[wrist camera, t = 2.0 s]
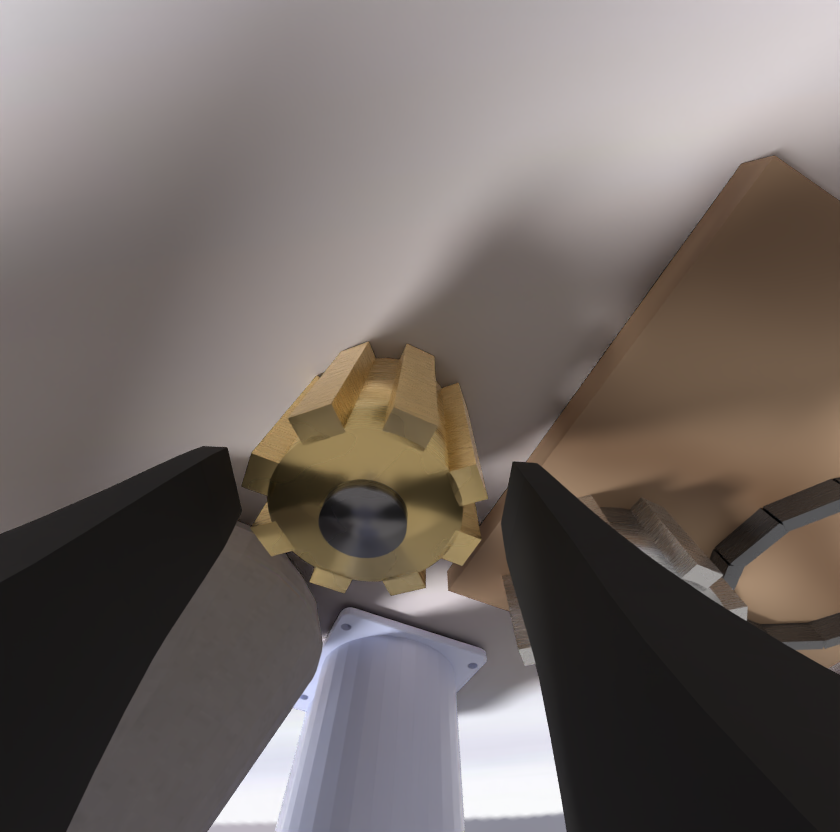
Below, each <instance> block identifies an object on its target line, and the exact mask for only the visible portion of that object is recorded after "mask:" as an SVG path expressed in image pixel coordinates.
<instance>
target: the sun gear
mask: <svg viewBox="0 0 840 832" xmlns="http://www.w3.org/2000/svg"><path fill="white" fill-rule="evenodd" d="M578 499H579V500H580V501H581V502H582V503H584V504H585V505H586V506H587V507H588V508H589V509H591V510H592V511H593V512H594V513H595V514H596V515H598V516H599V517H600V518H601V519H602V520H604V521H605V522H606V523H607V524H609V525H610V526H611V527H612V528H613V529H615V530H616V531H617V532H618V533H620V534H621V535H622V536H623V537H625V538H626V539H627V540H629V541H630V542H631V543H633V544H634V545H635V546H636V547H638V548H639V549H640V550H642V551H643V552H644V553H645V554H647V555H648V556H650V557H651V558H652V559H654V560H655V561H656V562H658V563H659V564H661V565H662V566H663V567H665V568H666V569H668V570H669V571H671V572H672V573H673V574H675V575H676V576H678V577H679V578H681V579H682V580H684V581H685V582H687V583H688V584H690V585H691V586H692V587H694V588H695V589H697V590H698V591H700V592H701V593H703V594H704V595H706V596H707V597H709V598H710V599H712V600H714V601H715V602H717V603H718V604H720V605H721V606H723V607H725V608H726V609H728V610H729V611H731V612H733V613H734V614H736V615H738V616H739V617H741V618H742V619H744V620H746V621H747V610H748V606H747V605H746V604H745V603H744V602H743V600H742V599H741V598H740V597H739V596H738V595H737V594H736V593H735V591H734V590H733V589H732V588H731V587H730V586H729V585H728V583H727V582H726V581H725V580H724V579H723V578H722V576H723V574H722V573H721V572H720V570H719V569H718V568H717V567H716V566H715V565H714V564H713V563H712V561H711V560H710V559H709V558H708V557H707V556H706V555H705V554H704V552H703V551H702V550H701V549H700V548H699V547H698V546H697V545H696V543H695V542H694V541H693V540H692V539H691V538H690V537H689V536H688V534H687V533H686V532H685V531H684V530H683V529H682V528H681V527H680V525H679V524H678V523H677V522H676V521H675V520H674V519H673V518H672V516H671V515H670V514H669V513H668V512H667V511H666V510H665V509H664V508H663V507H662V506H660V505H658V504H655V503H653V502H651V501H649V500H646V499H644V498H642V497H641V498H640V499H639V500H638V501H637V502H636V503H635V504H634V505H633V506H632V507H631V509H630V510H629V509H624V508H616V507H599V506H598V505H597V503H596V502H595V500H594V498H593V497H592V495H588V496H584V497H580V498H578ZM502 578H503V583H504V587H505V592H506V596H507V601H508V605H509V610H510V614H511V619H512V623H513V628H514V632H515V637H516V641H517V646H518V650H519V653H520V655H521V658H522V660H523V663H524V665H525V666H528V665H534V664H535V660H534V656H533V652H532V649H531V645H530V642H529V638H528V635H527V631H526V628H525V624H524V621H523V617H522V614H521V610H520V607H519V603H518V600H517V596H516V593H515V589H514V586H513V582H512V579H511V575H510V574H509V575H504V576H502Z"/></svg>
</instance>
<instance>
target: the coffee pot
mask: <svg viewBox="0 0 840 832" xmlns="http://www.w3.org/2000/svg"><path fill="white" fill-rule="evenodd" d="M250 528H251V526H248V525H246V524H244V523H241V522H239V521H237V523H236V525H235V527H234V529H233V531H232V533H231V535H230V537H229V539H228V541H227V543H226V545H225V547H224V549H223V551H222V552H221V554H220V555H219V557H218V559H217V560H216V562H215V563H214V565H213V566H212V568H211V569H210V571H209V573H208V574H207V576H206V577H205V579H204V580H203V582H202V583H201V585H200V586H199V588H198V589H197V591H196V592H195V594H194V596H193V597H192V599H191V600H190V602H189V603H188V605H187V606H186V608H185V609H184V611H183V612H182V614H181V615H180V617H179V618H178V620H177V621H176V623H175V625H174V626H173V628H172V629H171V631H170V632H169V634H168V635H167V637H166V638H165V640H164V642H163V643H162V645H161V647H160V648H159V650H158V652H157V653H156V655H155V657H154V658H153V660H152V662H151V664H150V666H149V667H148V669H147V671H146V673H145V675H144V677H143V679H142V680H141V682H140V684H139V686H138V688H137V690H136V692H135V694H134V695H133V697H132V699H131V701H130V703H129V705H128V707H127V708H126V710H125V712H124V714H123V716H122V718H121V720H120V722H119V724H118V726H117V728H116V730H115V732H114V734H113V736H112V738H111V740H110V742H109V744H108V746H107V748H106V750H105V752H104V754H103V756H102V758H101V760H100V762H99V764H98V766H97V768H96V770H95V772H94V774H93V776H92V778H91V780H90V782H89V785H88V787H87V789H86V791H85V793H84V795H83V797H82V799H81V802H80V804H79V806H78V808H77V810H76V812H75V814H74V816H73V818H72V821H71V823H70V825H69V827H68V829H67V831H66V832H207V831H208V830H209V828H210V827H211V825H212V824H213V823H214V821H215V820H216V818H217V817H218V815H219V814H220V812H221V811H222V810H223V808H224V807H225V805H226V804H227V802H228V801H229V799H230V798H231V796H232V795H233V794H234V792H235V791H236V789H237V788H238V786H239V785H240V783H241V782H242V781H243V779H244V778H245V776H246V775H247V773H248V772H249V770H250V769H251V767H252V766H253V765H254V763H255V762H256V760H257V759H258V757H259V756H260V754H261V753H262V752H263V750H264V749H265V747H266V746H267V744H268V743H269V741H270V740H271V738H272V737H273V736H274V734H275V733H276V731H277V730H278V728H279V727H280V725H281V724H282V723H283V721H284V720H285V718H286V717H287V715H288V714H289V712H290V711H291V709H292V708H293V707H294V705H295V704H296V702H297V701H298V699H299V698H300V696H301V695H302V694H303V692H304V691H305V689H306V688H307V686H308V685H309V683H310V682H311V681H312V679H313V677H314V675H315V673H316V671H317V667H318V664H319V660H320V657H321V653H322V647H323V642H322V636H321V629H320V623H319V617H318V610H317V604H316V601H315V599H314V597H313V595H312V593H311V592H310V590H309V588H308V586H307V584H306V582H305V581H304V579H303V577H302V576H301V574H300V573H299V571H298V570H297V569H296V567H295V566H294V565H293V564H292V563H291V562H290V560H289V558H288V556H287V555H286V554H285V553H282V554H279V555H275V556H271V555H270V554H269V553H268V551H267V550H266V549H265V547H264V546H263V545H262V543H261V542H260V541H259V539H258V538H257V537H256V535H255V534H254V533H253V531H252V530H251V529H250Z"/></svg>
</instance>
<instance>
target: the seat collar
mask: <svg viewBox="0 0 840 832" xmlns="http://www.w3.org/2000/svg"><path fill="white" fill-rule="evenodd" d="M763 509H764V510H763ZM763 509H761V508H760V509H758V510H757V511H756V512H755V513H754V514H753V515H751V516H750V517H749V518H748V519H747V520H746V521H744V522H743V523H742V524H741V525H740V526H739V527H738V528H736V529H735V530H734V531H733V532H732V533H731V534H729V535H728V536H727V537H726V538H725V539H724V540H722V541H721V542H720V543H719V544H718V545H717V546H716V547H715V549H713V551H712V554H711V556H710V560H711V561H712V563H713V564H714V565H715V566H716V567H717V568H718V569H719V570H720V572H721V573H722V574H723V576H722V578H723V579H724V580H725V581H726V582H727V583H728V585H729V586H730V587H731V588H732V589H733V590H735V587H736V585H737V583H738V581H739V578H740V576H741V574H742V572H743V569H744V567H745V566H747V565H748V564H749V563H750V562H752V561H753V560H754V559H755V558H757V557H758V556H759V555H760V554H762V553H763V552H764V551H765V550H767V549H768V548H769V547H770V546H772V545H773V544H774V543H775V542H777V541H778V540H779V539H780V538H782V537H783V536H784V535H785V534H787V533H788V532H789V531H792V530H794V529H797V528H800V527H802V526H805V525H807V524H810V523H813V522H815V521H818V520H821V519H823V518H826V517H828V516H831V515H834V514H836V513H839V512H840V478H834V479H833V480H832V479H829V480H827V481H824V482H822V483H819V484H817V485H814V486H812V487H809V488H807V489H804V490H802V491H799V492H797V493H795V494H792V495H790V496H787V497H785V498H782V499H780V500H777V501H775V502H772V503H770V504H767V505H765V506H763ZM747 622H749V623H751V624H752V625H754V626H756V627H757V628H759V629H761V630H762V631H764V632H766V633H767V634H769V635H770V636H772V637H774V638H775V639H777V640H779V641H780V642H782V643H784V644H786V645H787V646H789V647H791V648H793V649H794V650H814V649H823V647H824V648H825V649H826V648H829V647H833V646H836V645H840V612H839V613H836V614H833V615H830V616H827V617H823V618H820V619H817V620H814V621H811V622H808V623H780V624H759V623H756V622H754V621H751V620H749V619H747Z"/></svg>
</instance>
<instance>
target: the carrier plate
mask: <svg viewBox="0 0 840 832" xmlns="http://www.w3.org/2000/svg"><path fill="white" fill-rule="evenodd" d="M526 462H530V463H538V464H539V465H540V466H542V467H543V468H544V469H545V470H546V471H547V472H549V473H550V474H551V475H552V476H553V477H554V478H555V479H557V480H558V481H559V482H560V483H561V484H562V485H563V486H564V487H566V488H567V489H568V490H569V491H570V492H571V493H572V494H573V495H575V496H576V497H577V498H580V497H584V496H588V495H592V497H593V498H594V500H595V502H596V503H597V505H598V506H599V507H616V508H624V509H629V510H630V509H631V507H632V506H633V505H634V504H635V503H636V502H637V501H638V500H639V499H640V498H641V497H642V498H644V499H646V500H649V501H651V502H653V503H655V504H658V505H660V506H662V507H663V508H664V509H665V510H666V511H667V512H668V513H669V514H670V515H671V516H672V518H673V519H674V520H675V521H676V522H677V523H678V524H679V525H680V527H681V528H682V529H683V530H684V531H685V532H686V533H687V534H688V536H689V537H690V538H691V539H692V540H693V541H694V542H695V543H696V545H697V546H698V547H699V548H700V549H701V550H702V551H703V552H704V554H705V555H706V556H707V557H708V558H709V559H710V556H711V554H712V551H713V549H715V547H716V546H717V545H718V544H719V543H720V542H721V541H722V540H724V539H725V538H726V537H727V536H728V535H729V534H731V533H732V532H733V531H734V530H735V529H736V528H738V527H739V526H740V525H741V524H742V523H743V522H744V521H746V520H747V519H748V518H749V517H750V516H751V515H753V514H754V513H755V512H756V511H757V510H758V509H760V508H761V509H763V506H765V505H767V504H770V503H772V502H775V501H777V500H780V499H782V498H785V497H787V496H790V495H792V494H795V493H797V492H799V491H802V490H804V489H807V488H809V487H812V486H814V485H817V484H819V483H822V482H824V481H827V480H829V479H832V480H833V479H834V478H840V201H839V200H838V199H836V198H835V197H834V196H832V195H831V194H829V193H828V192H826V191H825V190H824V189H822V188H821V187H819V186H818V185H816V184H815V183H814V182H812V181H811V180H809V179H808V178H806V177H805V176H804V175H802V174H801V173H799V172H798V171H796V170H795V169H794V168H792V167H791V166H789V165H788V164H786V163H785V162H784V161H782V160H781V159H779V158H778V157H776V156H775V155H774V156H770V157H766V158H762V159H758V160H754V161H750V162H746V163H742V164H741V165H740V166H739V168H738V169H737V170H736V172H735V173H734V175H733V176H732V177H731V179H730V180H729V181H728V183H727V184H726V186H725V187H724V188H723V190H722V191H721V193H720V194H719V195H718V197H717V198H716V199H715V201H714V202H713V204H712V205H711V206H710V208H709V209H708V211H707V212H706V213H705V215H704V216H703V218H702V219H701V220H700V222H699V223H698V224H697V226H696V227H695V229H694V230H693V231H692V233H691V234H690V236H689V237H688V238H687V240H686V241H685V242H684V244H683V245H682V247H681V248H680V249H679V251H678V252H677V254H676V255H675V256H674V258H673V259H672V260H671V262H670V263H669V265H668V266H667V267H666V269H665V270H664V272H663V273H662V274H661V276H660V277H659V278H658V280H657V281H656V283H655V284H654V285H653V287H652V288H651V290H650V291H649V292H648V294H647V295H646V297H645V298H644V299H643V301H642V302H641V303H640V305H639V306H638V308H637V309H636V310H635V312H634V313H633V315H632V316H631V317H630V319H629V320H628V321H627V323H626V324H625V326H624V327H623V328H622V330H621V331H620V333H619V334H618V335H617V337H616V338H615V339H614V341H613V342H612V344H611V345H610V346H609V348H608V349H607V351H606V352H605V353H604V355H603V356H602V357H601V359H600V360H599V362H598V363H597V364H596V366H595V367H594V369H593V370H592V371H591V373H590V374H589V376H588V377H587V378H586V380H585V381H584V382H583V384H582V385H581V387H580V388H579V389H578V391H577V392H576V394H575V395H574V396H573V398H572V399H571V400H570V402H569V403H568V405H567V406H566V407H565V409H564V410H563V412H562V413H561V414H560V416H559V417H558V418H557V420H556V421H555V423H554V424H553V425H552V427H551V428H550V430H549V431H548V432H547V434H546V435H545V436H544V438H543V439H542V441H541V442H540V443H539V445H538V446H537V448H536V449H535V450H534V452H533V453H532V455H531V456H530V457H529V459H528V460H527V461H526ZM507 489H508V488H507ZM507 489H506V491H505V492H504V493H503V495H502V496H501V497H500V499H499V500H498V502H497V503H496V504H495V506H494V507H493V509H492V510H491V511H490V513H489V514H488V515H487V517H486V518H485V520H484V521H483V522H482V524H481V525H480V527H479V528H480V534H481V539H482V540H481V541H480V543H479V544H478V545H477V547H476V548H475V549H474V551H473V552H472V553H471V555H470V556H469V557H468V559H467V560H466V561H465V563H464V564H463V565H462V566H461V565H458V564H456V563H453V564H452V565H451V567H450V568H449V570H448V571H447V576H448V591H451V592H454V593H457V594H460V595H463V596H466V597H468V598H471V599H474V600H477V601H480V602H483V603H486V604H489V605H492V606H495V607H498V608H501V609H503V610H506V611H509V612H510V610H509V605H508V601H507V596H506V592H505V587H504V583H503V578H502V576H504V575H509V574H510V572H509V568H508V564H507V561H506V555H505V549H504V542H503V536H502V529H501V520H502V514H503V509H504V504H505V499H506V494H507ZM763 510H764V509H763ZM734 591H735V593H736V594H737V595H738V596H739V597H740V598H741V599H742V600H743V602H744V603H745V604H746V605H747V606H748V610H747V619H749V620H751V621H754V622H756V623H759V624H780V623H808V622H811V621H814V620H817V619H820V618H823V617H827V616H830V615H833V614H836V613H839V612H840V512H839V513H836V514H834V515H831V516H828V517H826V518H823V519H821V520H818V521H815V522H813V523H810V524H807V525H805V526H802V527H800V528H797V529H794V530H792V531H789V532H788V533H787V534H785V535H784V536H783V537H782V538H780V539H779V540H778V541H777V542H775V543H774V544H773V545H772V546H770V547H769V548H768V549H767V550H765V551H764V552H763V553H762V554H760V555H759V556H758V557H757V558H755V559H754V560H753V561H752V562H750V563H749V564H748V565H747V566H745V567H744V569H743V572H742V574H741V576H740V578H739V581H738V583H737V585H736V587H735V590H734ZM796 651H798V652H800V653H801V654H803V655H805V656H807V657H808V658H810V659H812V660H814V661H815V662H817V663H819V664H821V665H822V666H824V667H826V668H830V667H832V666H833V665H835V664H837V663H838V662H840V645H836V646H833V647H829V648H826V649H825V648H824V647H823V649H814V650H796Z"/></svg>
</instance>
